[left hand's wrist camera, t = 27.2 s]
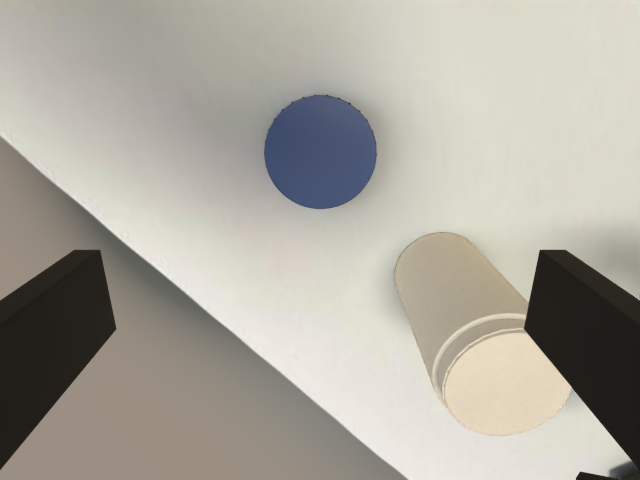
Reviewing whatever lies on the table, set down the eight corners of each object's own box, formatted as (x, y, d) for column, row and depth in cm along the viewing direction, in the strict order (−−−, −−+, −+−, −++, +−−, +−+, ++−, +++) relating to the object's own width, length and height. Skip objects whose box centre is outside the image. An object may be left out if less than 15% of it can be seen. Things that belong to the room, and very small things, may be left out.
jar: (482, 226, 41) (587, 319, 25) (482, 306, 45) (574, 433, 28) (391, 238, 42) (435, 336, 26) (397, 316, 45) (440, 447, 29)
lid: (286, 216, 41) (285, 222, 39) (250, 114, 38) (247, 116, 36) (386, 187, 40) (389, 192, 38) (358, 79, 36) (360, 79, 35)
